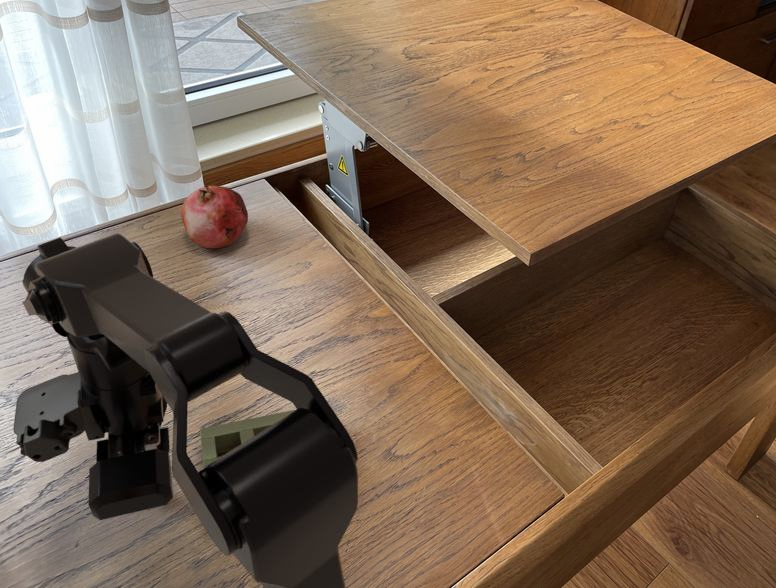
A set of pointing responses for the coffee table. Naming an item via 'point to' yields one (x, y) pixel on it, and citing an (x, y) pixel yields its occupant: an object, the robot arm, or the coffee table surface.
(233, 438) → the rack
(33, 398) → the robot arm
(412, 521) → the coffee table surface
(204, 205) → the fruit
